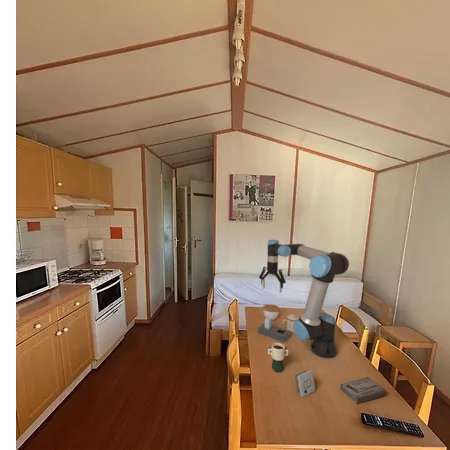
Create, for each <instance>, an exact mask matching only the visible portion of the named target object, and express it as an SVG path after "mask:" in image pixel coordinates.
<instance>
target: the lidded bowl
mask: <svg viewBox="0 0 450 450" xmlns="http://www.w3.org/2000/svg"><path fill="white" fill-rule="evenodd" d="M262 309H263V312H262V313H263V315H264V317H265V319H266V318H267V317H268V318H271V319H272V321H276V319H277V318H278V317H279V315H280V307H279V306H278V305H276V304H265V305H263V306H262Z"/></svg>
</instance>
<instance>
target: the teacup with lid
mask: <svg viewBox="0 0 450 450" xmlns="http://www.w3.org/2000/svg"><path fill="white" fill-rule="evenodd" d="M299 318H300V316H298V315H295V313H291V314H288V315H286V318H285V319H282V325H283V327H286V328H285V329H286V330H289V331H291V333H295V332H294V328H293V324H294V322H295V321H296V320H299ZM285 321H286V324H284V322H285Z"/></svg>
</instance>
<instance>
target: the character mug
mask: <svg viewBox="0 0 450 450" xmlns="http://www.w3.org/2000/svg"><path fill="white" fill-rule="evenodd" d="M271 346H272V349H269V348H267V355H270V356H271V359H272V363H271V368H272V370H273V371H275V372H276V373H277V372H278V373H280V372H282V371H283V370H284V359H285V357H288V355H289V350H288V349H286V350H285V347H286V346H285V344H283V343H281V342H274V343H272V344H271ZM271 351H272V352H271Z"/></svg>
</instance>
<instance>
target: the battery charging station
mask: <svg viewBox="0 0 450 450" xmlns="http://www.w3.org/2000/svg"><path fill="white" fill-rule="evenodd" d="M257 333H258V334H261V335H263V336H265V337H268V338H270V339H274V340H277V341H279V342H280V343H281V342H282V343H285V342H287V341H288V340H289V339H290V338H291V337H292V332H291V331H289V330H287V329H286V328H282V327H279V326H278V325H275V324H272V327H271V328H270V329H267V328H265V322H264V323H263V324H261V325H260V326H258V327H257Z"/></svg>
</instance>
